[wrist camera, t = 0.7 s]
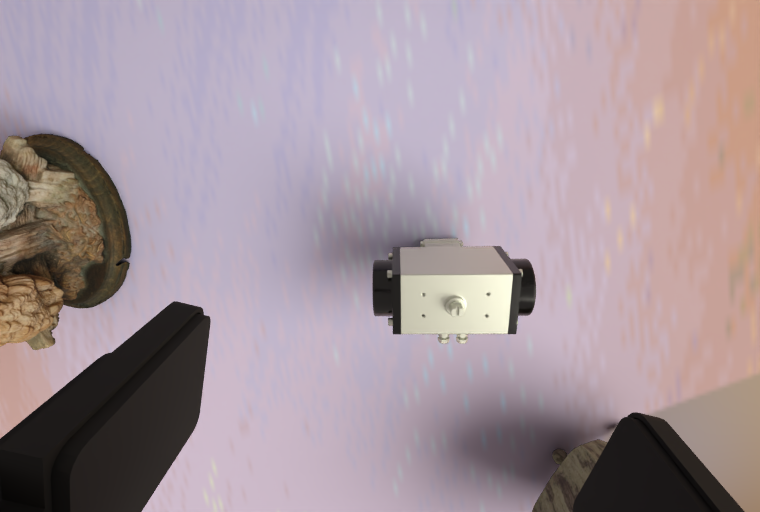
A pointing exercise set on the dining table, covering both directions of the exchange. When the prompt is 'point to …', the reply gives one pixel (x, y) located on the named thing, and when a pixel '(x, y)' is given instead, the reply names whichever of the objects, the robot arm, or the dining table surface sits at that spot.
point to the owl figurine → (55, 235)
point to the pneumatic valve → (452, 289)
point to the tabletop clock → (569, 477)
